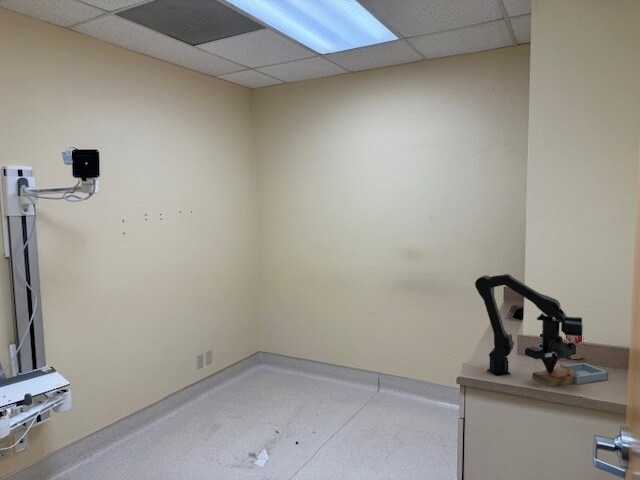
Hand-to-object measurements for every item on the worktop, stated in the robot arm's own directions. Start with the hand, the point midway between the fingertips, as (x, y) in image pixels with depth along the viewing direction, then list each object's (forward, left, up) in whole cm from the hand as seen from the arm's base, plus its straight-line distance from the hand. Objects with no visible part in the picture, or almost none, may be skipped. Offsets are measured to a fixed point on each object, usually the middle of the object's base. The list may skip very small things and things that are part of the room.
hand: (549, 373), depth 166 cm
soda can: (+30, +18, -4) cm, 35 cm away
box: (+15, 0, -3) cm, 15 cm away
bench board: (+2, 0, -3) cm, 4 cm away
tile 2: (+8, 0, -1) cm, 8 cm away
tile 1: (+4, 0, -1) cm, 4 cm away
